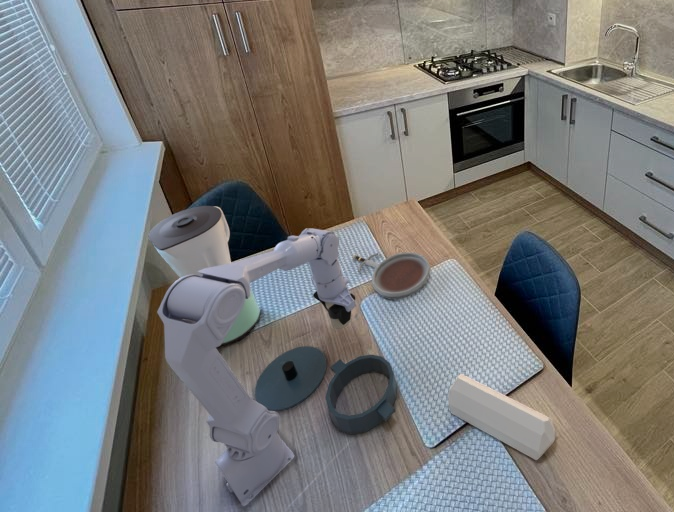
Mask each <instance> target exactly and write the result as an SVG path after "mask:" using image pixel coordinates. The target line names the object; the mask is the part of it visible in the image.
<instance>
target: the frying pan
mask: <svg viewBox="0 0 674 512" xmlns="http://www.w3.org/2000/svg"><path fill="white" fill-rule="evenodd" d="M377 256H379V253H378V252H376V253H373V254H371V255H369V256H368V257H367V258H363V257H362V256H359V255H358V254H357V253H356V254H353V255H352V259H353V260H354V261H355V260H357V261H360V262H361V263H360V264H359V266H358V269H357V271H358V273H360V272H361V270H362V269H361V268H362V267H363V266H364V265H368V266H370V267H373V268H375V269H374V271H373V273H372V276H371V286H372V287H373V289H374V291H375V292H377V293H378V294H379V295H381V296H382V297H383V298H385V299H390V300H401V299H405V298H409V297H411V296H413V295H415V294H417V293H418V292H419V291H420V290H421V289H423V288H424V286H425V285H426V283H427V282H428V279H429V277H430V274H431V264H430V262H429V261H428V260H427V258H426V257H425V256H424V255H421V254H420V253H416V252H412V251H408V252H405V251H404V252H399V253H395V254H393V255H390V256H388V257H386V258H385V259H383V260H382V261H381V262H380V263H378V262H375V261H373V260H371V259H372V258H374V257H377Z"/></svg>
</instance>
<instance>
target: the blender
mask: <svg viewBox="0 0 674 512" xmlns="http://www.w3.org/2000/svg"><path fill="white" fill-rule="evenodd" d="M230 236H231V231H230V227H229V224H228V222H227V219H226V216H225V214H224V212H223V210H222V208H221V207H220V206H216V205H215V206H213V205H200V206H194V207H190V208H186V209H183V210H180V211H178V212H175V213H173V214H171V215H169V216H167V217H165V218H164V219H162V220H160V221H159V222H158V223H157V224H155V225H154V226H153V227H152V228H151V229H150V230H149V233H148V236H147V238H148V240H149V242H150V243H151V244H152V245H153V247H154V249H155V250H156V251H157V252H158V254H159V255H160V256H161V258H162V259H163V260H164V261H165V262H166V264H167V265H168V266H169V267H170V269H172V271H173V272H174V273H175V274H176V275H177V276H178V279H180V278H181V277H183V276H186V275H198V276H200V277H201V276H203V274H201V273H197V272H198V271H200V270H202V269H205V268H209V267H215V266H220V265H225V264H229V263H232V259H231V254H230V249H229V241H230ZM260 317H261V308H260V306H259V304H258V301H257V299H256V296H255V294H254V292H253V289H252V286H250V297H249V298H248V299H245V303H244V306H243V308H242V310H241V312H240V314H239V315H238V317H237V319H236V320H235V322H234V324H233V325H232V327H231V329H230V330H229V332H228V334H227V336H226V337H225V339H224V341H223V342H222V344H221V345H220V346H224V345H228V344H231V343H234V342H236V341H239V342H240V341H242V340H244V339H245V338H246V336H247V334H248V333H249V332H250V331H252V329H253V328H254V327H255V326H256V325H257V323H258V322H259V319H260Z"/></svg>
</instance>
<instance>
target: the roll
mask: <svg viewBox="0 0 674 512" xmlns="http://www.w3.org/2000/svg"><path fill="white" fill-rule="evenodd" d="M325 304H326V308H327V310H326V311H327V314H328V317H329V320H330V323H331V326H332V328H333V329H335V330H342V329H345V328H347V327H348V326H349V325H350V324H351V322H352V318H351V319H350V320H349V321H348V322H347V323H346V324H344V325H343V324H341V323H340V321H339V319H338V317H337V316H336V314H334V313H333V312H332V311H330V310H329V308H330V307H331V306H332V305H334V304H333V303H329V302H325Z"/></svg>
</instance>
